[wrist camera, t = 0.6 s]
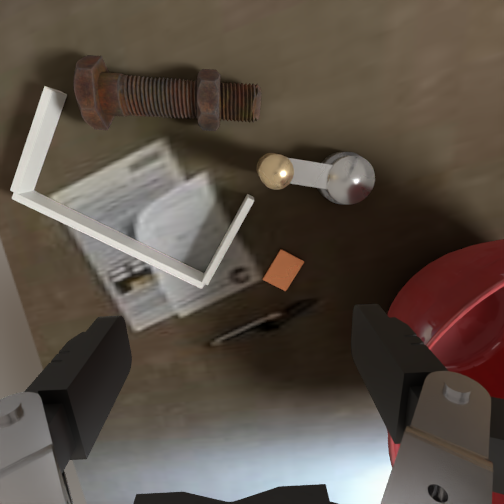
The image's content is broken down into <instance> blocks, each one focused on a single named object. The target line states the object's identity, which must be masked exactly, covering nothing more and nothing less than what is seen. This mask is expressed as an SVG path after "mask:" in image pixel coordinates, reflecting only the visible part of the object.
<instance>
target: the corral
mask: <svg viewBox="0 0 504 504" xmlns="http://www.w3.org/2000/svg"><path fill="white" fill-rule="evenodd" d="M66 97H67V94H65V93H63V92H61V91H59V90H56V89H53V88H49V87H46V86H44V89H43V92H42V95H41V98H40V101H39V104H38V107H37V110H36V113H35V117H34V120H33V123H32V126H31V129H30V132H29V135H28V138H27V141H26V144H25V147H24V150H23V153H22V156H21V159H20V162H19V165H18V168H17V171H16V174H15V177H14V180H13V183H12V186H11V189H10V191H12V192H14V193H13V196H12V199H13V200H15V201H17V202H19V203H22V204H24V205H26V206H28V207H30V208H32V209H34V210H36V211H38V212H40V213H43V214H45V215H47V216H49V217H51V218H53V219H55V220H57V221H59V222H62V223H64V224H66V225H68V226H70V227H72V228H74V229H76V230H78V231H80V232H83V233H85V234H87V235H89V236H91V237H93V238H95V239H97V240H99V241H101V242H104V243H106V244H108V245H110V246H112V247H114V248H116V249H118V250H120V251H123V252H125V253H127V254H129V255H131V256H133V257H135V258H137V259H139V260H141V261H144V262H146V263H148V264H150V265H152V266H154V267H156V268H158V269H160V270H162V271H165V272H167V273H169V274H171V275H173V276H175V277H177V278H179V279H181V280H184V281H186V282H188V283H190V284H192V285H194V286H196V287H198V288H200V289H202V288H203V286H204V284H206V285H208V284H209V282H210V280H211V279H212V277H213V275H214V273H215V271H216V270H217V268H218V266H219V264H220V262H221V260H222V259H223V257H224V255H225V253H226V251H227V250H228V248H229V246H230V244H231V242H232V241H233V239H234V237H235V235H236V233H237V231H238V230H239V228H240V226H241V224H242V222H243V221H244V219H245V217H246V215H247V213H248V212H249V210H250V208H251V206H252V204H253V203H254V197H253V196H251V195H249V194H247V195H246V197H245V199H244V201H243V203H242V205H241V206H240V208H239V210H238V212H237V214H236V216H235V218H234V219H233V221H232V223H231V225H230V227H229V229H228V230H227V232H226V234H225V236H224V238H223V240H222V242H221V243H220V245H219V247H218V249H217V251H216V253H215V254H214V256H213V258H212V260H211V262H210V264H209V265H208V267H207V269H206V271H205V273H203V272H201V271H199V270H196V269H194V268H192V267H190V266H188V265H186V264H184V263H182V262H180V261H178V260H176V259H174V258H172V257H170V256H168V255H166V254H164V253H161V252H159V251H157V250H155V249H153V248H151V247H149V246H147V245H145V244H143V243H141V242H139V241H137V240H135V239H133V238H131V237H129V236H126V235H124V234H122V233H120V232H118V231H116V230H114V229H112V228H110V227H108V226H106V225H104V224H102V223H100V222H98V221H96V220H94V219H91V218H89V217H87V216H85V215H83V214H81V213H79V212H77V211H75V210H73V209H71V208H69V207H67V206H65V205H63V204H61V203H59V202H56V201H54V200H52V199H50V198H48V197H46V196H44V195H42V194H40V193H38V192H36V191H34V188H35V185H36V182H37V180H38V177H39V174H40V171H41V168H42V165H43V163H44V160H45V157H46V154H47V151H48V148H49V146H50V143H51V140H52V137H53V134H54V131H55V129H56V126H57V123H58V120H59V117H60V114H61V111H62V109H63V106H64V103H65V100H66Z"/></svg>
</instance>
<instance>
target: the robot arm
mask: <svg viewBox="0 0 504 504" xmlns="http://www.w3.org/2000/svg"><path fill="white" fill-rule="evenodd" d="M351 351H352V357H353V360H354V362H355V365H356V367H357V369H358V371H359V373H360V375H361V377H362V379H363V381H364V383H365V385H366V387H367V389H368V391H369V393H370V395H371V397H372V399H373V401H374V403H375V405H376V407H377V409H378V411H379V413H380V415H381V417H382V419H383V421H384V423H385V425H386V427H387V429H388V431H389V434H390V436H391V438H392V440H393V442H394V444H400V447H399V450H398V453H397V456H396V459H395V462H394V465H393V468H392V471H391V474H390V477H389V480H388V483H387V486H386V489H385V492H384V495H383V498H382V501H381V504H492V492H495V493H499V494H503V495H504V399H501V398H495V397H491V396H490V395H489V393H488V392H487V390H486V389H485V388H484V387H483V386H482V385H480V384H479V383H478V382H476V381H475V380H473V379H471V378H469V377H467V376H465V375H462V374H459V373H456V372H451V371H448V370H447V368H446V367H445V366H444V365H443V364H442V363H441V362H440V361H439V359H438V358H437V357H436V356H435V355H434V354H433V353H432V351H431V350H430V349H429V348H428V347H427V346H426V345H424V342H423V341H422V340H421V339H420V338H419V337H417V334H416V333H415V332H414V331H413V330H412V329H411V328H410V326H409V325H407V324H406V323H404V322H402V321H401V320H399V319H397V318H396V317H388V315H387V314H386V313H385V312H384V310H383V309H382V308H381V307H380V305H379V304H360V305H355V306H354V309H353V320H352V335H351ZM131 361H132V356H131V350H130V345H129V339H128V334H127V329H126V324H125V320H124V318H123V317H122V316H106V317H98V318H97V319H96V320H95V321H94V323H93V324H92V325H91V326H90V327H89V329H88V330H87V331H86V332H82V333H80V334H79V335H77V336H76V337H74V338H73V339H71V340H70V341H68V342H67V343H66V344H65V346H64V347H63V348H62V349H61V350H60V351H59V354H57V355H56V356H55V357H54V358H53V359H52V361H51V363H49V364H48V365H47V366H46V367H45V369H44V370H43V371H42V372H41V373H40V374H39V376H38V377H37V378H36V379H35V380H34V381H33V382H32V384H31V385H30V386H29V387H28V388H27V389H26V391H25V392H22V393H16V394H13V395H10V396H7V397H5V398H3V399H1V400H0V504H73V501H72V497H71V493H70V490H69V486H68V482H67V478H66V475H65V472H64V469H65V467H66V465H67V463H68V461H69V460H78V459H87V457H88V455H89V453H90V451H91V449H92V447H93V445H94V443H95V441H96V439H97V437H98V435H99V433H100V431H101V429H102V427H103V425H104V423H105V421H106V419H107V417H108V415H109V413H110V411H111V409H112V407H113V405H114V402H115V400H116V398H117V396H118V394H119V392H120V390H121V388H122V386H123V384H124V382H125V380H126V378H127V376H128V374H129V372H130V368H131ZM134 504H337V503H333V502H330V501H329V497H328V493H327V489H326V484H320V485H301V486H282V487H277V488H274V489H271V490H268V491H265V492H262V493H259V494H256V495H253V496H250V497H247V498H244V499H241V500H238V501H234V502H225V501H221V500H216V499H212V498H208V497H203V496H199V495H195V494H190V493H186V492H170V493H151V494H136V497H135V501H134Z"/></svg>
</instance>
